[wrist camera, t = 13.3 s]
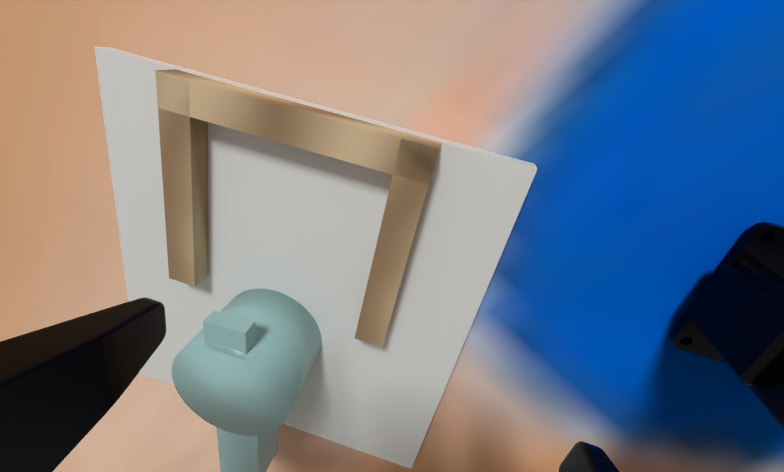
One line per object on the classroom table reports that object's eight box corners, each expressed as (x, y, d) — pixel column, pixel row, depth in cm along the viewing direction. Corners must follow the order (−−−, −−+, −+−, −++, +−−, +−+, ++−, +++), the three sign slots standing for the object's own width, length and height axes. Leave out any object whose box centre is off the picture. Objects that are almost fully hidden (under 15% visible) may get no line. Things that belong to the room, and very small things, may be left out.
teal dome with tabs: (222, 260, 21) (161, 310, 17) (327, 287, 20) (289, 345, 16) (232, 409, 26) (187, 473, 22) (313, 433, 25) (283, 504, 21)
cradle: (441, 142, 16) (438, 148, 14) (387, 332, 20) (382, 347, 19) (176, 69, 16) (155, 70, 15) (184, 267, 21) (169, 278, 20)
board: (534, 164, 16) (537, 169, 15) (413, 457, 26) (411, 469, 25) (109, 47, 18) (94, 46, 17) (146, 365, 27) (137, 373, 26)
